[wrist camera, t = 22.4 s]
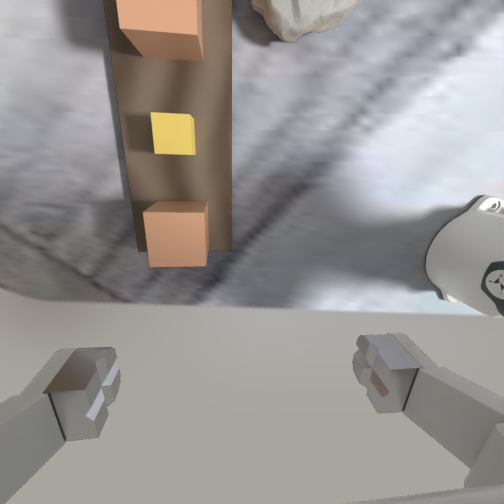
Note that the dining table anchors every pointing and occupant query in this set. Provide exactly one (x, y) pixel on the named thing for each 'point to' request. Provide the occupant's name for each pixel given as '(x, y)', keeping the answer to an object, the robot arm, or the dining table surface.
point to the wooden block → (177, 233)
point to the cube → (173, 133)
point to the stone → (302, 15)
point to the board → (180, 102)
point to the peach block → (163, 27)
